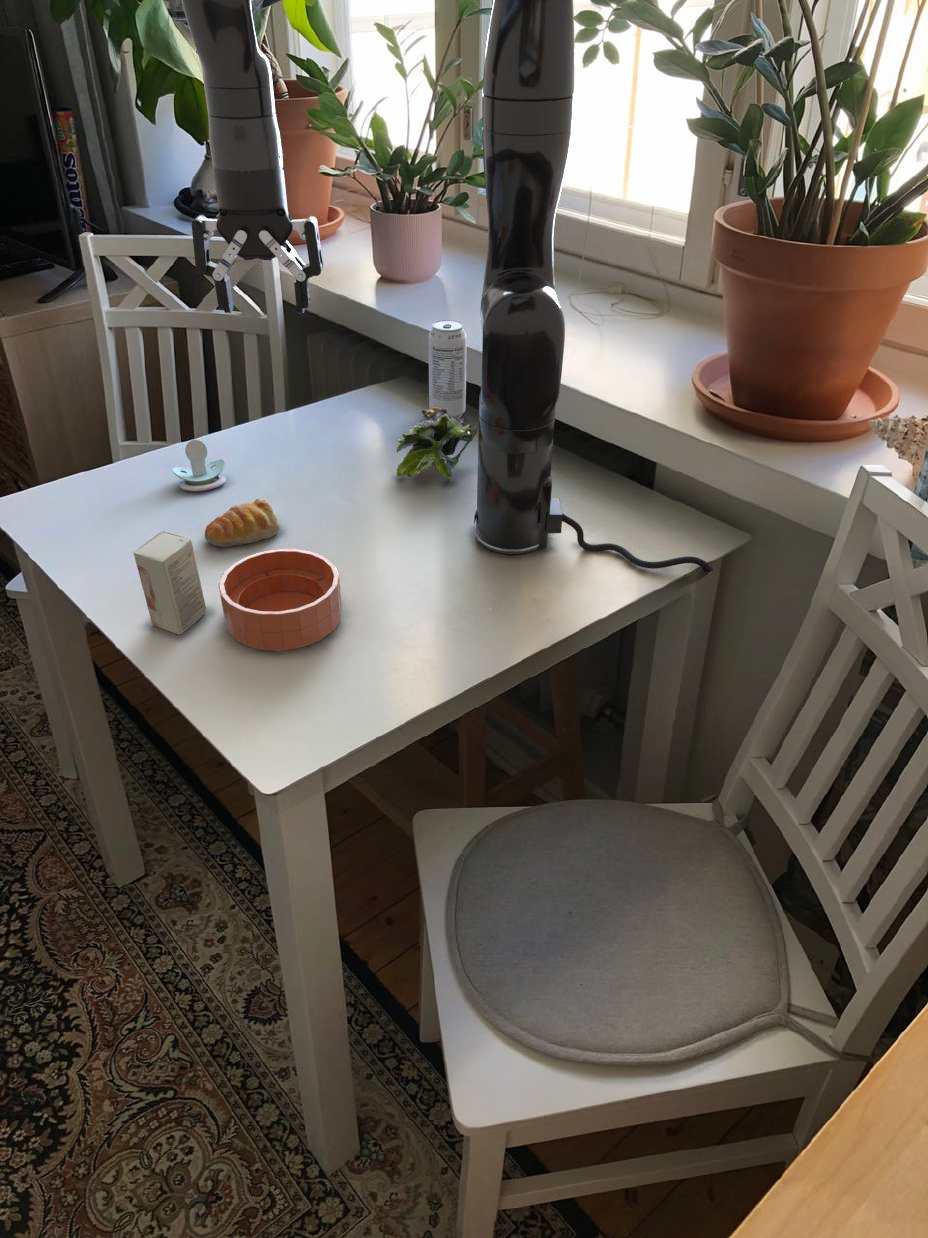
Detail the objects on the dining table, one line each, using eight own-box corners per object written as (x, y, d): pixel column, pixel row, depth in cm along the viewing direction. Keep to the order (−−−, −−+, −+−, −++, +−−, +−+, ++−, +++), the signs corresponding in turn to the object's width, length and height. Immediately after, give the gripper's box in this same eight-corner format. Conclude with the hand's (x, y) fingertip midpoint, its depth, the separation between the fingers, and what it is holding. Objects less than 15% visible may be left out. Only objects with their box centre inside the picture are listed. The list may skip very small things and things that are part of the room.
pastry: (220, 557, 118) (215, 531, 115) (196, 536, 122) (191, 510, 120) (285, 533, 122) (281, 508, 120) (260, 514, 127) (256, 489, 124)
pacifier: (232, 488, 133) (223, 469, 137) (226, 449, 129) (217, 430, 133) (180, 497, 130) (173, 478, 135) (172, 458, 127) (165, 439, 131)
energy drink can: (467, 408, 156) (469, 319, 147) (462, 423, 151) (464, 332, 142) (432, 406, 157) (431, 317, 148) (426, 420, 152) (425, 330, 143)
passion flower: (435, 492, 143) (471, 422, 141) (464, 512, 134) (503, 438, 132) (374, 463, 137) (411, 389, 135) (400, 481, 128) (440, 403, 126)
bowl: (347, 587, 112) (344, 549, 109) (335, 655, 102) (331, 614, 99) (238, 586, 112) (232, 548, 109) (214, 654, 102) (207, 613, 98)
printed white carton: (178, 602, 110) (163, 529, 104) (208, 612, 108) (194, 538, 102) (148, 626, 106) (130, 551, 100) (179, 636, 104) (162, 561, 98)
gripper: (173, 167, 97) (198, 321, 107) (309, 168, 97) (322, 322, 107) (189, 153, 103) (211, 300, 113) (317, 154, 103) (329, 301, 113)
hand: (265, 311), depth 110 cm, fingers open, 8 cm apart
